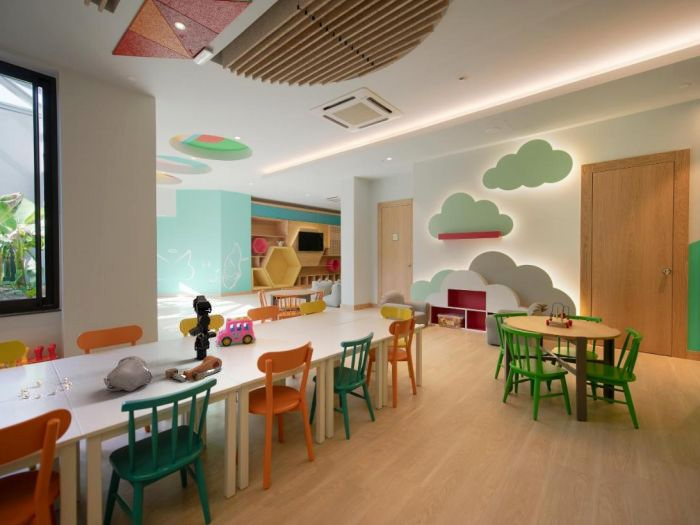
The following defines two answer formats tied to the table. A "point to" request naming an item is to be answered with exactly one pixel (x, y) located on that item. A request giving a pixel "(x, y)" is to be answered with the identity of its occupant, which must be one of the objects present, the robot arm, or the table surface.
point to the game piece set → (40, 385)
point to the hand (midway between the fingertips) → (203, 346)
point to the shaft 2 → (204, 373)
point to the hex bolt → (174, 375)
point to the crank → (204, 366)
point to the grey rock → (128, 375)
